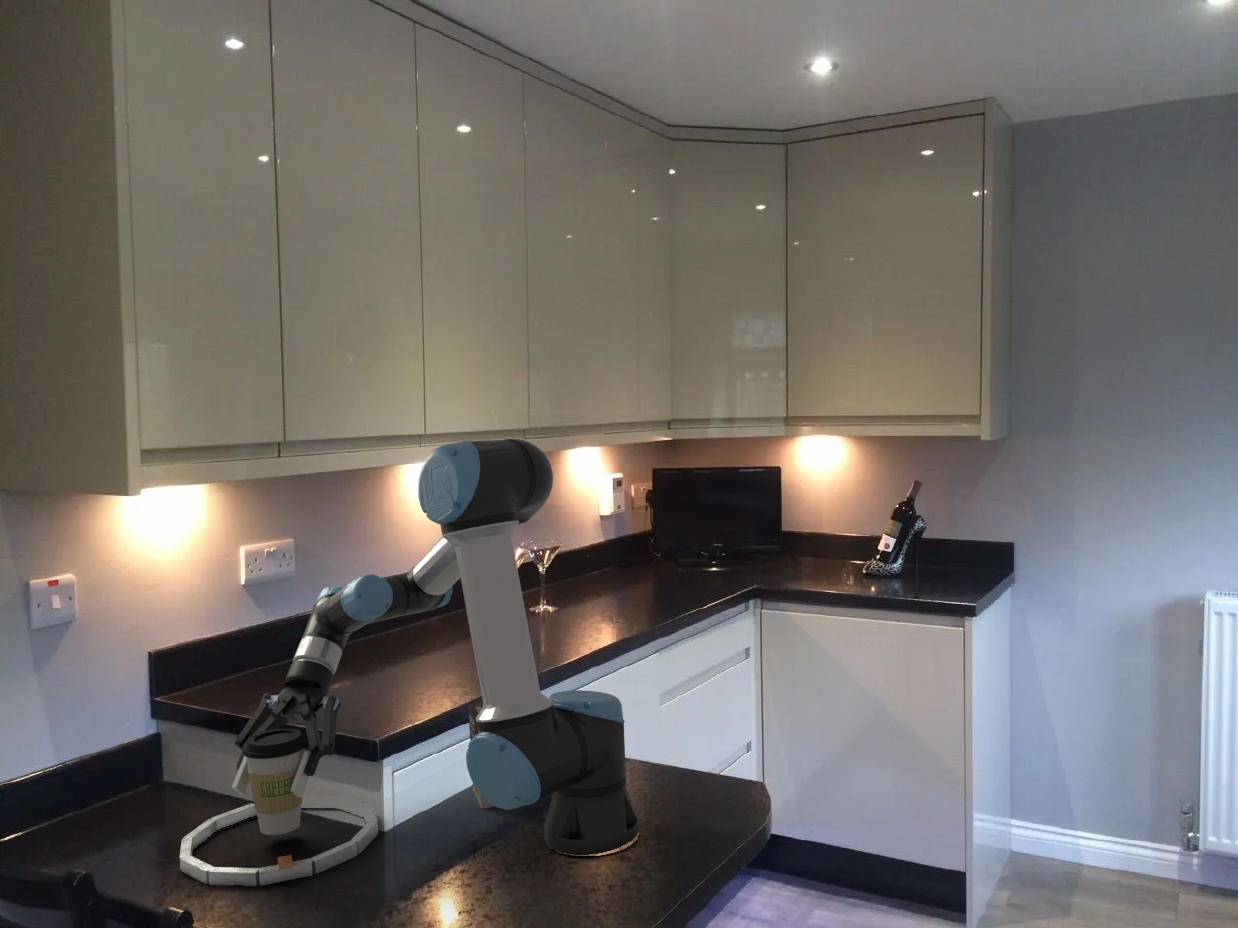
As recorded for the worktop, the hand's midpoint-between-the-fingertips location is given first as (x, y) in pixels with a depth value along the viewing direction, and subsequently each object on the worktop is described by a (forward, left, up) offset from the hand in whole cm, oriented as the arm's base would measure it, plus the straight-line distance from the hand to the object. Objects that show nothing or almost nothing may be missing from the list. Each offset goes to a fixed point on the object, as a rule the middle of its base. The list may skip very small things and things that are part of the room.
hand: (266, 792), depth 160 cm
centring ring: (+2, -2, -9) cm, 10 cm away
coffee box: (+4, -38, -10) cm, 39 cm away
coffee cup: (+2, -2, -7) cm, 8 cm away
